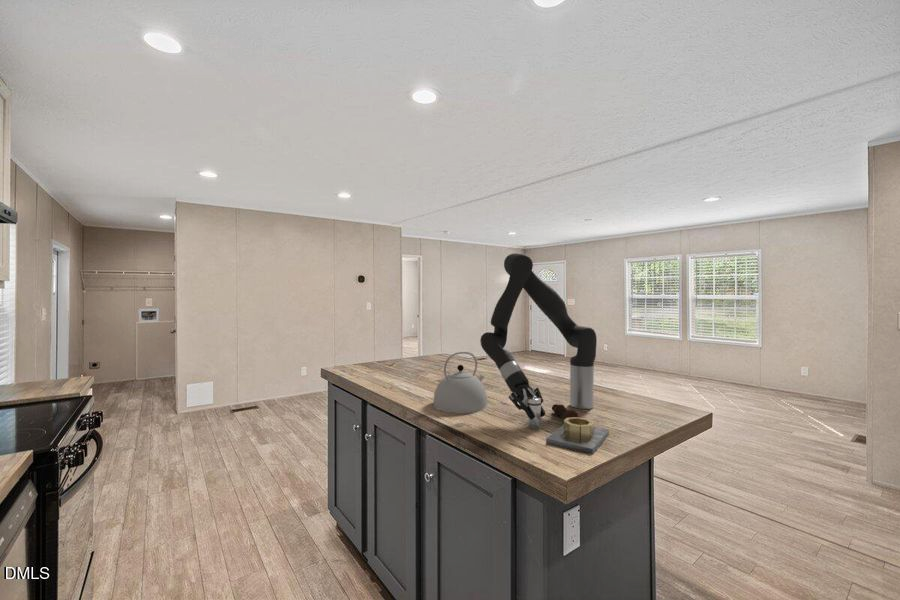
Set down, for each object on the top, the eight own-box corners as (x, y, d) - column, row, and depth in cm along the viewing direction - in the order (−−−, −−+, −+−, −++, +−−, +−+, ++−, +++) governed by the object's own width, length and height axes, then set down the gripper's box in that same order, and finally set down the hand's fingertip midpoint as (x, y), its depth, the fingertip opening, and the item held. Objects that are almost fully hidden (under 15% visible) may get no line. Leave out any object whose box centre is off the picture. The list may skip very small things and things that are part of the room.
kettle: (467, 395, 179) (467, 346, 179) (502, 405, 162) (503, 352, 161) (422, 404, 164) (422, 351, 163) (456, 417, 146) (457, 357, 146)
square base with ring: (567, 425, 136) (567, 410, 136) (608, 434, 128) (608, 417, 128) (546, 443, 120) (546, 425, 120) (592, 454, 112) (592, 435, 112)
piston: (530, 424, 138) (530, 396, 138) (543, 426, 135) (543, 398, 135) (525, 427, 134) (525, 399, 134) (538, 430, 131) (537, 401, 131)
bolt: (557, 417, 152) (573, 429, 137) (546, 411, 152) (562, 422, 137) (564, 404, 153) (581, 414, 138) (553, 398, 152) (569, 407, 137)
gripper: (504, 372, 137) (529, 414, 127) (532, 368, 145) (558, 407, 135) (494, 384, 141) (518, 426, 131) (522, 379, 149) (546, 418, 139)
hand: (538, 416), depth 133 cm, fingers closed on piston, 4 cm apart
